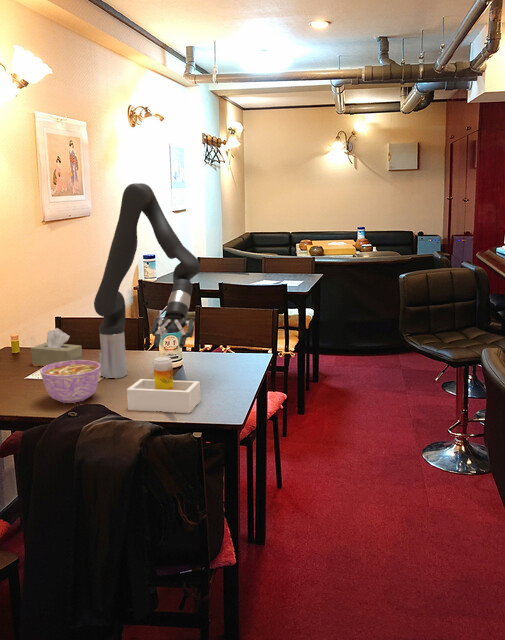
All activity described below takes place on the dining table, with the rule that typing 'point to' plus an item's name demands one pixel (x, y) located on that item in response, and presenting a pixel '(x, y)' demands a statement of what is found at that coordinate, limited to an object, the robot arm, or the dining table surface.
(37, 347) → the tissue box
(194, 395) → the white rectangular tray
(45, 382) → the bowl of food
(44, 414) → the dining table surface
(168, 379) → the beer can
